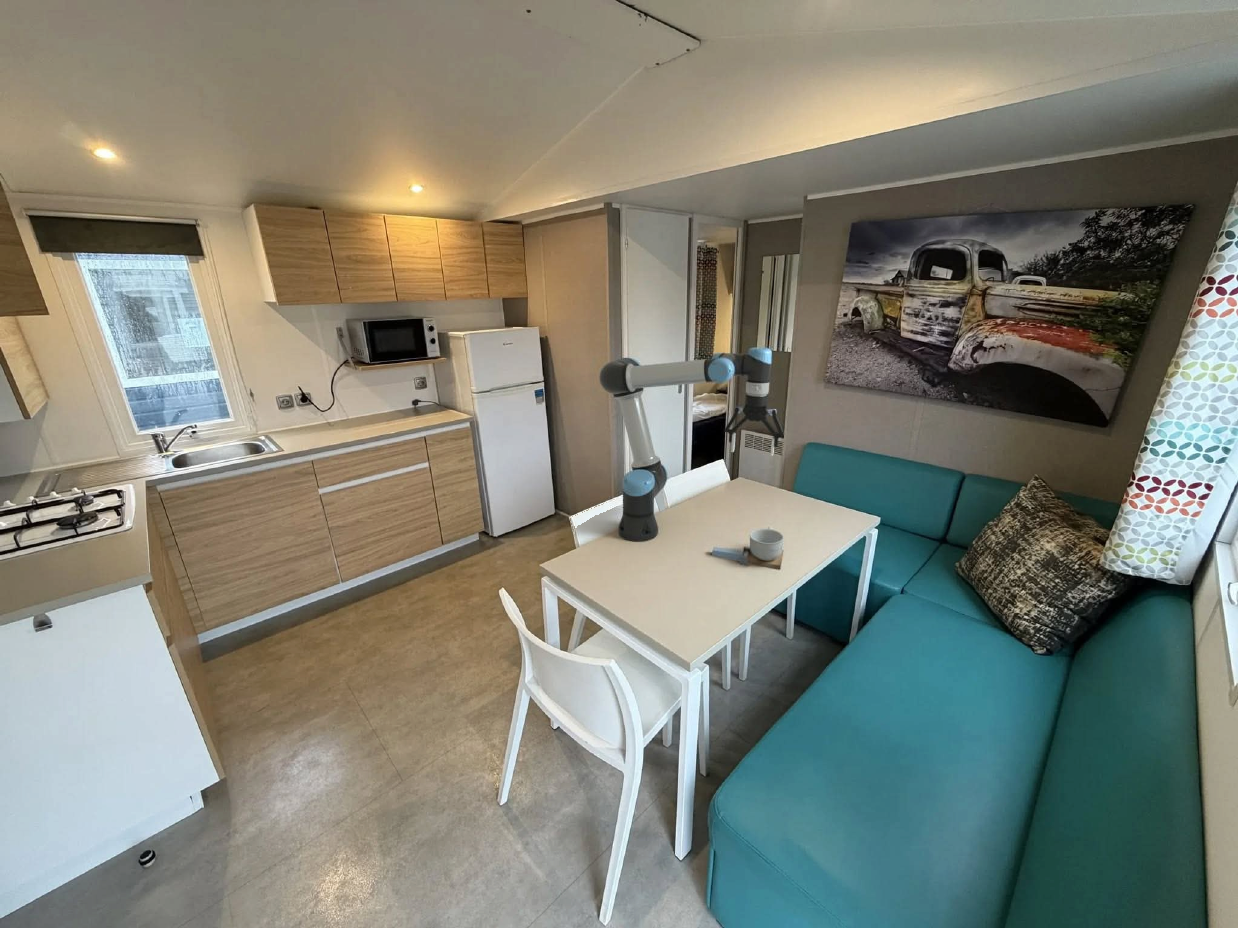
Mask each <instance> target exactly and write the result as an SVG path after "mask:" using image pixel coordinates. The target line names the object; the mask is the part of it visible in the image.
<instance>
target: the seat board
mask: <svg viewBox="0 0 1238 928" xmlns="http://www.w3.org/2000/svg"><path fill="white" fill-rule="evenodd" d="M783 557H784V549H782V553H781V555H780V556H779V557H777V558H775V559H774V560H770V561H765V560H761V559H758V558H757V557H756V556H754V555H753V554H752V552H751V553H749V555H748V565H749V564H750V565H754V566H755V565H756V566H759V567H760V566H761V567H765V568H771V569H776V570H781V568H782V562H783Z"/></svg>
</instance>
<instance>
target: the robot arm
mask: <svg viewBox="0 0 1238 928" xmlns="http://www.w3.org/2000/svg"><path fill="white" fill-rule="evenodd" d="M772 353H773V352H772V350H771V349H770V348H768V347H750V348H749V350H748V353H729V352H726V353H725V352H721V353H720V352H716V353H714V354H713V355H712V357H711V358H707V359H695V360H694V359H693V360H683V361H673V362H665V363H654V364H653V363H652V364H643V365H641V364H640V362H639V361H638V360H636V359H635V358H632V357H621V358H618V359H616V360H612V361H609V362H608V363H607V362H606V364H604V365H603V367H602V368H601V370H600V372H599V376H598V378H599V383H600V386H601V387H602V389H604V390H605V392H606V393H609V394H612V396H613V399H615V400H617V401H618V402H619V406H620V411H621V414H622V419H623V422H624V426H625V427H624V428H625V429H626V430H625V431H626V433H627V438H628V443H629V446H630V451H631V456H632V458H633V461H632V463H631V466H630V467H631V470H630V471H628V472H627V473H625V474H624V476H623V478H622V485H621V486H622V515H621V518H620V520H619V525H618V535H619V536H620V537H621V538H622V539H624V540H627V541H631V542H645V541H646V542H647V541H650V540H653V539H655V538H657V536H658V535H659V525H658V522H657V519H656V516H655V511H654V510H655V498H656V497H657V495H659V493H660V492H661V491H662V490H663V489H664V487H665V486H666V483H667V481H668V471H667V469H666V467H665V466H664V464H662V462H661V459H660V457H659V456H657V454H656V452H655V449H654V444H653V441H652V437H651V432H650V428H649V423H648V419H647V416H646V412H645V408H644V403H643V400H642V394H643V392H644V391H645V390H644V389H645V388H646V389H647V388H656V387H657V388H659V387H666V386H680V385H692V384H694V385H695V384H703V383H717V384H724V383H727V382H729V381H731V379H732V378H733V377H734V376H735V377H746V384H745V393H746V394H745V398H744V407H740V405H739V406H738V405H737V406H735V409H734V413H733V415H732V417H731V418H730V419H729V421H728V424H727V425H726V426H725V427H724V429H723V431H724V432H725V433H727V434H728V442H729V443H731V450H730V452H731V453H734V452H735V448H736V435H737V433H736V431H737V430H738V429H739V428H740V427H741V426H742V425H743V424H744V423H745V422H746V421H747V420H748V421H749V422H762V423H763V424H764V426H765V427H766V428H767V429H768V431H769V432H770V434H771V435H772V437H771V443H770V444H771V446H770V447H771V448H770V457H773V456H774V453H775V448H777V447H778V444H779V439H780V438H783V437H784V436H785V431H784V430H783V427H782V425H781V422H780V420H779V417H778V415H777V409H776V408H773V409H768V408H769V407H768V402H769V396H768V394H769V392H770V379H771V371H772V357H773V356H772ZM741 413H743V414H744V416H743V417H742V418H741V419H740V420H739V421H738V422H737V423H736V424H735V425H734V426H733V427H732V428H731V426H732V425H733V424H734V421H735V420H736V418H737V417H738V415H739V414H741ZM768 414H769V416H771V417H772V420H773V422H774V425H775V427H776V429H775V427H774V426H773V425H772V424H771V422H770V421H769V420H768V418H767V417H766V416H767V415H768Z"/></svg>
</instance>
